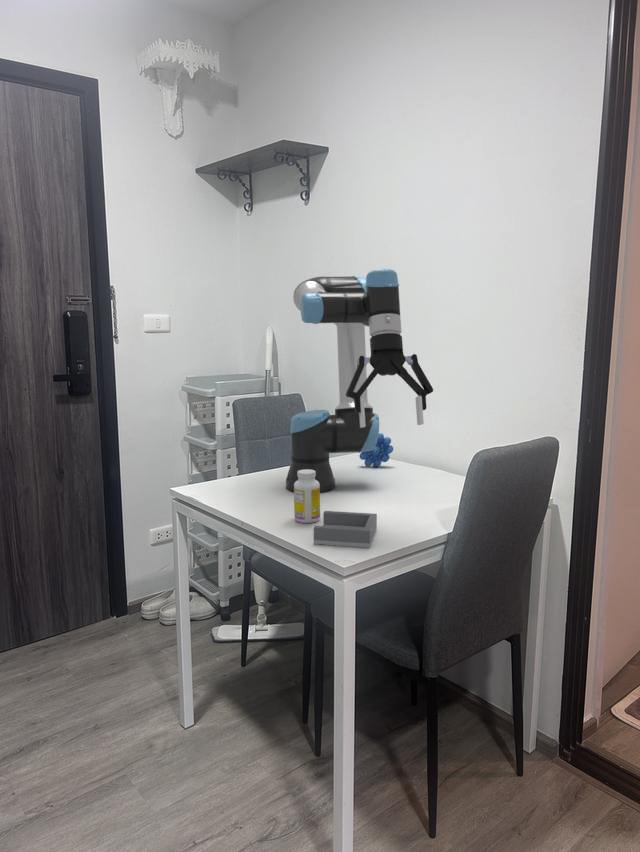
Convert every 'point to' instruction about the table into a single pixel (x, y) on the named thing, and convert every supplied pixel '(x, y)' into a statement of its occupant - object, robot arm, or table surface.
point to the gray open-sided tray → (346, 529)
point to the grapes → (378, 452)
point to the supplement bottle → (306, 497)
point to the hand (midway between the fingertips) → (391, 426)
